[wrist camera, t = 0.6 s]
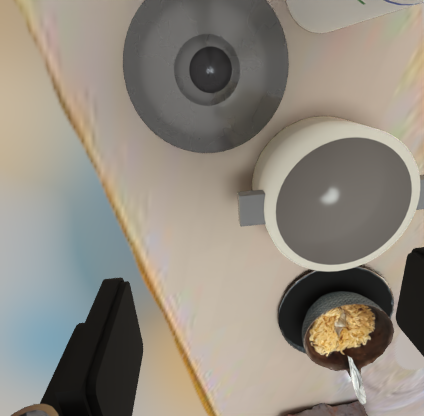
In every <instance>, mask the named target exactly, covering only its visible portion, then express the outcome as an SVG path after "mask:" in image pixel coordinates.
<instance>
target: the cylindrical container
mask: <svg viewBox="0 0 424 416" xmlns="http://www.w3.org/2000/svg"><path fill="white" fill-rule="evenodd" d="M286 2H287V5H288V9H289V11H290V13H291V15H292V17H293V19H294V20H295V21H296V22H297V24H299V25H300V26H301V27H302V28H304V29H306V30H308V31H310V32H314V33H327V32H332V31H335V30H338V29H341V28H344V27H347V26H350V25H353V24H356V23H360V22H363V21H366V20H369V19H372V18H375V17H379V16H382V15H385V14H388V13H391V12H395V11H398V10H401V9H404V8H407V7H411V6H414V5H417V4H420V3H423V2H424V0H286Z"/></svg>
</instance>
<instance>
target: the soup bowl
mask: <svg viewBox="0 0 424 416" xmlns="http://www.w3.org/2000/svg"><path fill="white" fill-rule="evenodd" d="M393 306H394V297H393V294H392V291H391V288H390V286H389V284H388V283H387V282H386V280H385V279H384V278H383V277H381V276H379V275H377V274H376V273H374V272H373V271H371V270H367V269H366V268H363V267H354V268H351V269H347V270H341V271H328V272H327V271H317V270H313V271H311V272H309V273H306V274H305V275H303V276H302V277H300V278H299V279H298V280H296V281H295V282H294V283H293V284H292V285H291V286H290V287H289V288H288V289H287V291H286V293H285V296H284V298H283V301H282V303H281V306H280V308H279V326H280V329H281V332H282V335H283V336H284V338H285V340H286V341H287V342H288V344H290V345H291V346H292V347H294V348H295V349H297V350H298V351H301V352H303V353H306V354H307V355H308V356H309V357H310V359H311V360H312V361H313V362H315V363H316V364H318V365H320V366H323V367H326V368H329V369H331V370H335V371H339V370H347V371H348V373H349V375H350V377H351V379H352V383H353V386H354V390H355V393H356V397H357V398H358V400H359V402H360V403H361V404H362V405H363V404H365V403H366V395H365V392H364V388H363V383H362V378H361V368H362V367H364V366H366V365H368V364H370V363H373V362H374V361H375V360H376V359H377V358H378V357H379V356H380V355H382V354H383V352H384V351H385V349H386V348H387V347H388V345H389V344H390V343H391V341H392V338H393V333H394V328H393V324H392V321H391V317H392V314H393Z"/></svg>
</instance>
